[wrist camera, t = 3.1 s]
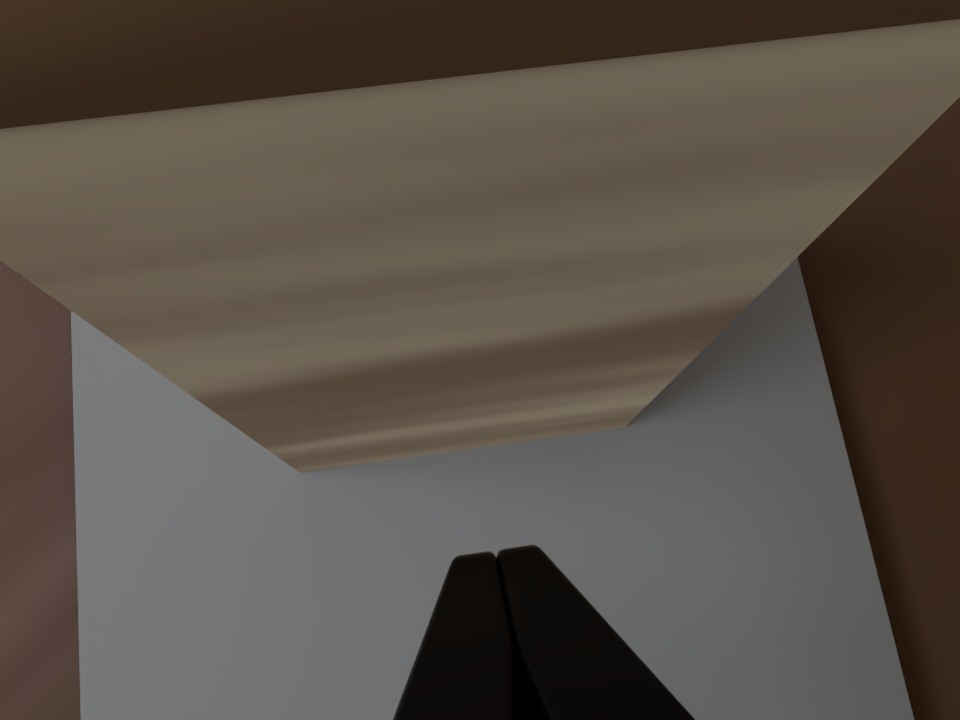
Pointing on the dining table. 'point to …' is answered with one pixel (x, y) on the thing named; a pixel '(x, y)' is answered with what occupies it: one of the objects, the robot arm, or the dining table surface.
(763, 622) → the rubber mat
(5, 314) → the dining table surface
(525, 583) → the robot arm
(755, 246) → the birch block
